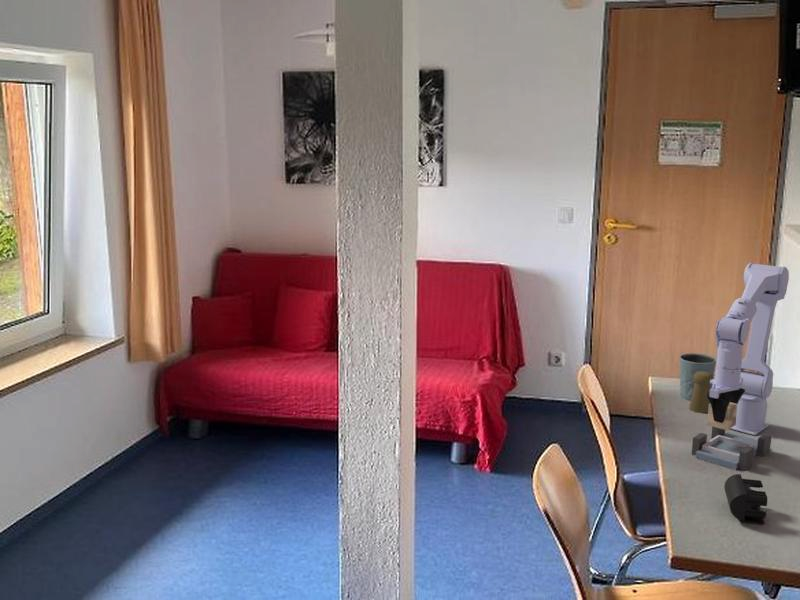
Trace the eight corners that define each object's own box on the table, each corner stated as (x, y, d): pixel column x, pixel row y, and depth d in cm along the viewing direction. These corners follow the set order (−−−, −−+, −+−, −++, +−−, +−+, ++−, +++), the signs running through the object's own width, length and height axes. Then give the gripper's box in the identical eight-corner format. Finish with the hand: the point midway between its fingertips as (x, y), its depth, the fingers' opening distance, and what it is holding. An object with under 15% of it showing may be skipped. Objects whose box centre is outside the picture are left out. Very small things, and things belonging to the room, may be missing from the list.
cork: (713, 413, 234) (716, 376, 231) (690, 412, 235) (693, 375, 232) (709, 406, 240) (713, 369, 237) (687, 404, 241) (691, 368, 238)
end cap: (722, 500, 183) (725, 472, 181) (757, 504, 181) (760, 475, 179) (728, 522, 173) (731, 492, 172) (764, 526, 172) (768, 496, 170)
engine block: (716, 419, 211) (717, 399, 210) (735, 424, 208) (737, 403, 206) (707, 425, 208) (708, 404, 206) (726, 430, 204) (728, 408, 203)
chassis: (720, 435, 218) (721, 419, 217) (771, 449, 209) (773, 433, 208) (689, 455, 206) (690, 439, 205) (742, 471, 197) (744, 454, 196)
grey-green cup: (714, 403, 242) (718, 364, 239) (678, 400, 244) (681, 361, 241) (710, 392, 251) (713, 354, 248) (675, 389, 254) (678, 351, 251)
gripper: (725, 356, 212) (720, 407, 215) (699, 369, 202) (694, 421, 205) (753, 362, 207) (747, 414, 210) (728, 375, 197) (722, 429, 200)
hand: (723, 418), depth 207 cm, fingers closed on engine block, 5 cm apart
